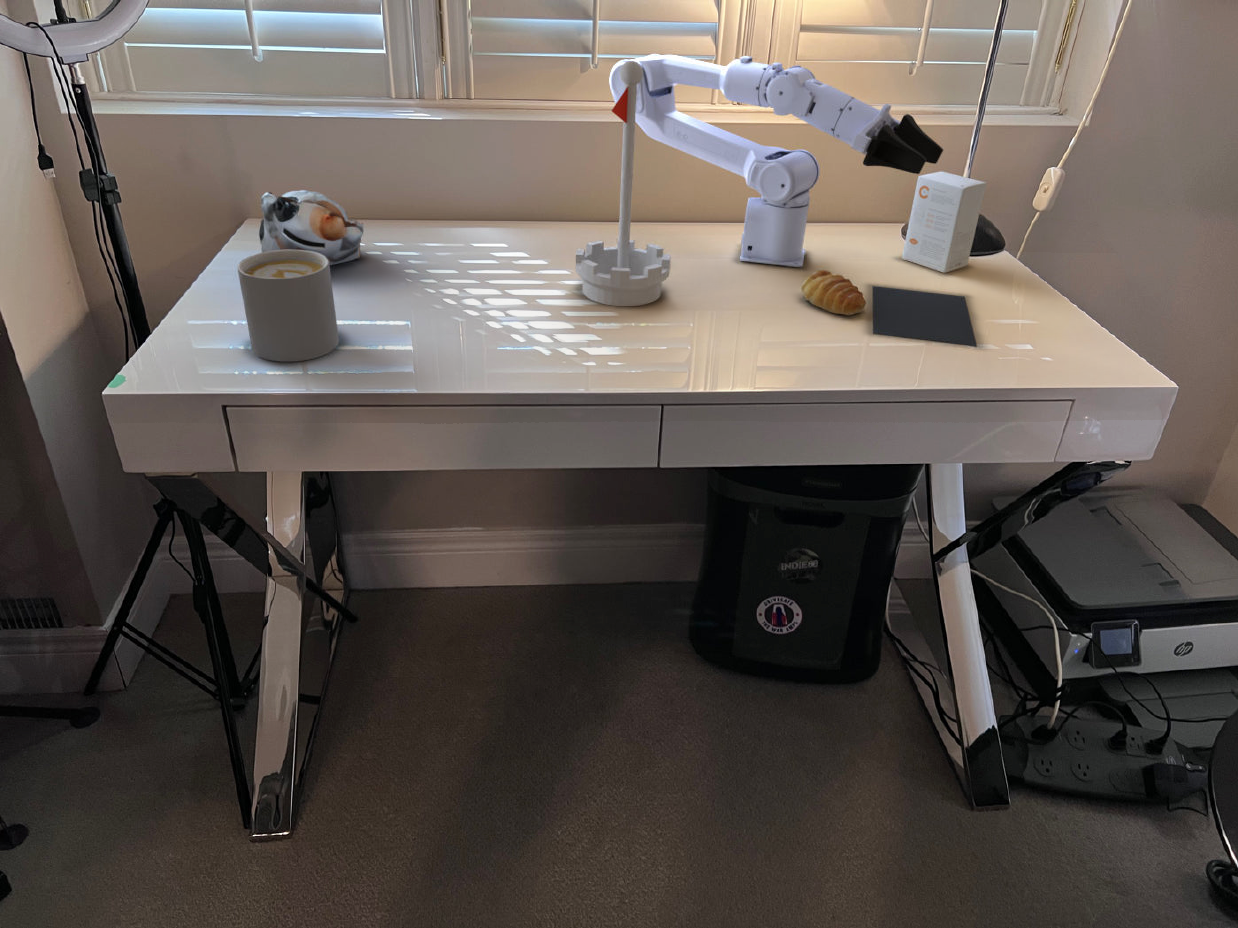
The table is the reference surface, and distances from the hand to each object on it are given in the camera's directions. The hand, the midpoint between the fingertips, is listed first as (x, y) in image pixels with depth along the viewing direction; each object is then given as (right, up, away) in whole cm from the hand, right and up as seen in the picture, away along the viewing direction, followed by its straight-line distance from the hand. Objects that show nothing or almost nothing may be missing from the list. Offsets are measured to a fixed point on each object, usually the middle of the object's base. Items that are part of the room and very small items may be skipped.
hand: (931, 161), depth 127 cm
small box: (+7, -10, +20) cm, 23 cm away
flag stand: (-42, -17, +4) cm, 46 cm away
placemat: (-1, -21, +1) cm, 21 cm away
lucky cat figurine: (-86, -13, +8) cm, 87 cm away
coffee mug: (-82, -26, -14) cm, 87 cm away
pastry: (-13, -19, +3) cm, 23 cm away
